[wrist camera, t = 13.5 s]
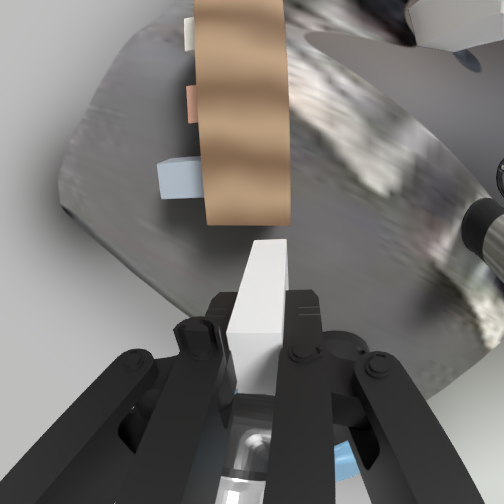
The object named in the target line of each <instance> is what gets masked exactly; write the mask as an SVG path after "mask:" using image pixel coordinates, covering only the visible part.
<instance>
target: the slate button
mask: <svg viewBox="0 0 504 504" xmlns="http://www.w3.org/2000/svg"><path fill="white" fill-rule="evenodd" d="M157 169H158V177H159V185H160V193H161V199H177V198H204V187H203V176H202V164H201V156H192V157H180V158H171V159H168V160H166V161H163V162H161V163H158V164H157Z"/></svg>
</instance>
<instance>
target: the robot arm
mask: <svg viewBox="0 0 504 504" xmlns="http://www.w3.org/2000/svg"><path fill="white" fill-rule="evenodd" d="M173 331H174V334H175V337H176V340H177V343H178V346H179V349H180V352H179V354H178V355H176V356H172V357H167V358H160V359H154V358H153V356H152V354H151V353H150V352H149V351H147V350H145V349H131V350H128V351H126V352H124V353H122V354H121V355H120V356H118V357H117V358H116V359H115V360H114V361H113V362H112V363H111V364H110V365H109V366H108V367H107V368H106V369H105V371H103V373H102V374H101V375H100V376H99V377H98V378H97V379H96V380H95V381H94V382H93V383H92V384H91V385H90V386H89V387H88V388H87V389H86V390H85V391H84V392H83V393H82V394H81V395H80V396H79V397H78V398H77V399H76V400H75V401H74V403H73V404H72V405H71V406H70V407H69V408H68V409H67V410H66V411H65V412H64V413H63V414H62V415H61V416H60V417H59V418H58V419H57V420H56V422H54V424H53V425H52V426H51V427H50V428H49V429H48V430H47V431H46V432H45V433H44V434H43V435H42V437H40V438H39V440H38V441H37V442H36V443H35V444H34V445H33V446H32V447H31V448H30V449H29V451H28V452H27V453H26V454H25V455H24V456H23V457H22V458H21V459H20V460H19V461H18V463H17V464H16V465H15V466H14V467H13V468H12V469H11V470H10V471H9V473H8V474H7V475H6V476H5V477H4V478H3V479H2V480H1V481H0V504H114V503H115V502H116V503H115V504H259V501H260V495H261V492H262V490H263V489H265V490H264V498H263V504H335V482H337V481H341V480H344V479H347V478H350V477H353V476H355V475H357V474H359V473H361V476H362V479H363V481H364V484H365V487H366V489H367V492H368V495H369V497H370V500H371V503H372V504H485V503H484V501H483V499H482V497H481V495H480V493H479V491H478V489H477V488H476V485H475V484H474V482H473V480H472V478H471V476H470V475H469V473H468V471H467V469H466V467H465V465H464V464H463V462H462V460H461V458H460V457H459V455H458V453H457V451H456V450H455V448H454V446H453V445H452V443H451V441H450V439H449V438H448V436H447V435H446V433H445V431H444V429H443V428H442V426H441V425H440V423H439V421H438V420H437V418H436V417H435V415H434V414H433V412H432V410H431V409H430V407H429V405H428V404H427V402H426V401H425V399H424V398H423V396H422V395H421V393H420V391H419V390H418V388H417V387H416V385H415V384H414V382H413V381H412V379H411V378H410V376H409V375H408V373H407V372H406V370H405V369H404V367H403V366H402V364H401V363H400V362H399V361H398V360H397V359H396V358H395V357H394V356H393V355H390V354H388V353H386V352H380V351H374V352H370V351H369V348H368V345H367V344H366V342H365V341H364V340H363V339H362V338H360V337H359V336H357V335H355V334H352V333H349V332H344V331H327V332H322V323H321V315H320V307H319V299H318V296H317V295H316V294H315V293H314V291H313V290H289V288H288V263H287V241H286V239H276V240H254V243H253V246H252V249H251V252H250V256H249V259H248V262H247V266H246V269H245V272H244V275H243V279H242V282H241V285H240V289H239V292H220V293H219V294H217V295H216V296H215V297H214V298H213V299H212V300H211V303H210V305H209V307H208V310H207V312H206V314H205V317H203V316H200V317H192V318H189V319H185V320H183V321H182V322H180V323H179V324H177V326H176V327H175V328H174V329H173ZM236 385H237V389H236ZM235 389H236V390H235ZM266 394H275V396H273V395H266ZM133 407H134V408H133ZM132 408H133V409H132ZM131 409H132V410H131Z"/></svg>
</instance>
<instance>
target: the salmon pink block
mask: <svg viewBox="0 0 504 504" xmlns="http://www.w3.org/2000/svg"><path fill="white" fill-rule="evenodd" d="M186 89H187V107H188V122H189V123H198V107H197V88H196V85H191V86H186Z"/></svg>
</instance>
